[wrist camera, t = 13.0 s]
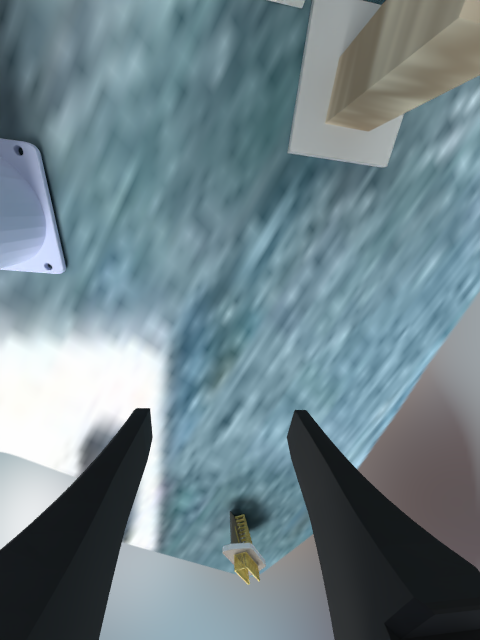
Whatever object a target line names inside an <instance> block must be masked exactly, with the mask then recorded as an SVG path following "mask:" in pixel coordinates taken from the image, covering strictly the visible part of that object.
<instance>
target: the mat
mask: <svg viewBox="0 0 480 640" xmlns="http://www.w3.org/2000/svg"><path fill="white" fill-rule="evenodd" d="M380 7H381V5H379V4H375V3H371V2H367V1H363V0H312V4H311V10H310V17H309V23H308V29H307V35H306V41H305V47H304V54H303V60H302V66H301V72H300V78H299V85H298V91H297V97H296V103H295V109H294V116H293V122H292V128H291V134H290V140H289V146H288V153H290V154H297V155H303V156H310V157H316V158H323V159H329V160H336V161H342V162H349V163H355V164H362V165H369V166H375V167H382V168H383V167H387V165H388V162H389V159H390V156H391V152H392V149H393V146H394V143H395V140H396V137H397V134H398V131H399V128H400V125H401V122H402V118H403V115H404V114H402V115H400V116H398V117H396V118H394V119H392V120H390V121H388V122H386V123H384V124H382V125H381V126H379V127H377V128H375V129H373V130H371V131H369V132H368V131H363V130H357V129H352V128H347V127H342V126H336V125H331V124H326V123H325V121H326V117H327V112H328V108H329V103H330V99H331V94H332V89H333V85H334V80H335V76H336V71H337V67H338V62H339V58H340V56H341V55H342V54H343V53H344V51H345V50H346V49H347V48H348V46H349V45H350V44H351V43H352V41H353V40H354V39H355V38H356V36H357V35H358V34H359V33H360V31H361V30H362V29H363V28H364V27H365V25H366V24H367V23H368V22H369V20H370V19H371V18H372V17H373V15H374V14H375V13H376V12H377V10H378V9H379V8H380Z"/></svg>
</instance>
